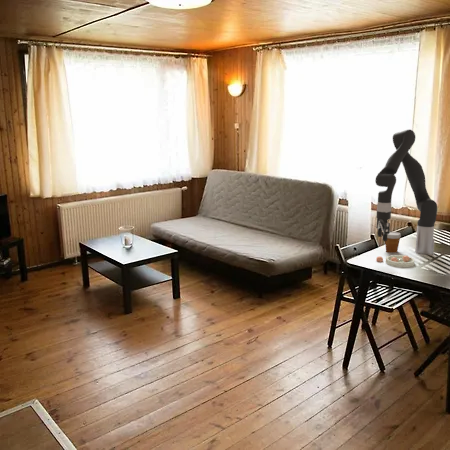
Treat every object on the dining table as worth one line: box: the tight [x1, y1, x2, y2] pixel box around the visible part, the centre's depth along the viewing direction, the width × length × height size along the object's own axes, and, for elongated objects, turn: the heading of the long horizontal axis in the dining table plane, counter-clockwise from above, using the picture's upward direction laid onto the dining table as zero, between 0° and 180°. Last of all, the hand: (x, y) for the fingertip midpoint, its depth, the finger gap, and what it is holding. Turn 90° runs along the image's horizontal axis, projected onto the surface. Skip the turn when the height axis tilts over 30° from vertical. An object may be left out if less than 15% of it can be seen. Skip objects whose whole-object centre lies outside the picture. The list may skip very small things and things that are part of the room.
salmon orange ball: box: [403, 255, 410, 262], centre depth 262 cm, size 4×4×4 cm
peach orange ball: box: [375, 256, 384, 263], centre depth 265 cm, size 4×4×4 cm
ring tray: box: [385, 254, 415, 268], centre depth 261 cm, size 15×15×3 cm
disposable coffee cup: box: [384, 231, 402, 254], centre depth 282 cm, size 10×10×12 cm
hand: (382, 238), depth 261 cm, fingers open, 8 cm apart
